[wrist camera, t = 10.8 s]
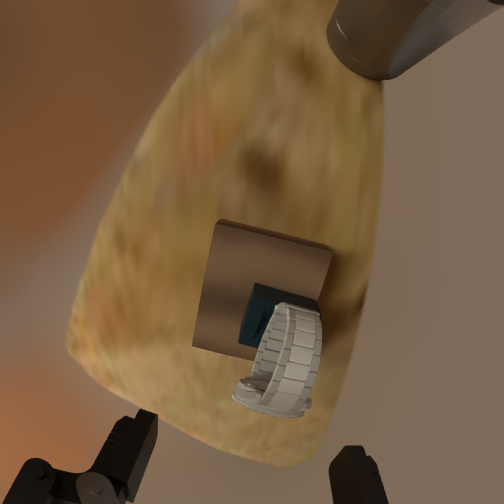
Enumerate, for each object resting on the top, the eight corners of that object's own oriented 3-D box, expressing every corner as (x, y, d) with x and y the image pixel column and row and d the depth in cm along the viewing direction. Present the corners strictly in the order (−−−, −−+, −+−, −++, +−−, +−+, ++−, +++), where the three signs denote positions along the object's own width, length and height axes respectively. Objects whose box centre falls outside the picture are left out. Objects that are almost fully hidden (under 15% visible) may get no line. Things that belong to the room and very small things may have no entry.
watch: (234, 342, 25) (218, 431, 14) (260, 262, 23) (259, 328, 12) (291, 356, 25) (303, 446, 15) (323, 281, 23) (364, 352, 13)
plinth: (220, 218, 25) (215, 223, 23) (325, 244, 26) (333, 252, 23) (198, 331, 28) (191, 345, 25) (290, 351, 28) (292, 368, 26)
